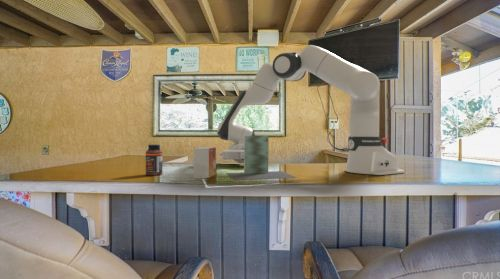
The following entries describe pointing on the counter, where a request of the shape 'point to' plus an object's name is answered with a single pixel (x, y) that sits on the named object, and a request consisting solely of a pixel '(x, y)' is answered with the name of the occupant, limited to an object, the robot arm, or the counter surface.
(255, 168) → the slab
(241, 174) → the mat
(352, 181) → the counter surface
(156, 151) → the supplement bottle
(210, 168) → the small box
